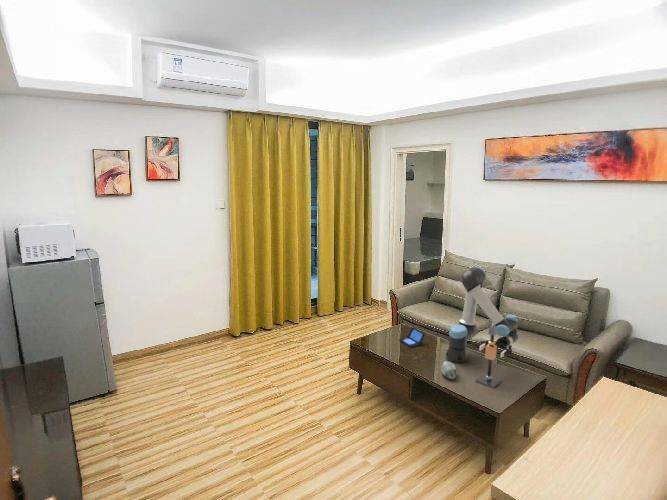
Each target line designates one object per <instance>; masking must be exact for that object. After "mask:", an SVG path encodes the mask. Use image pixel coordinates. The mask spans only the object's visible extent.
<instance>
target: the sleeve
mask: <svg viewBox="0 0 667 500" xmlns="http://www.w3.org/2000/svg"><path fill="white" fill-rule="evenodd" d="M497 350H498V347H497V346H496V345H493V347H490V345H489V344H488V345H487V346H486V347H485V353H484V358H485V359H487V360H489V359H490V360H492V361H495V360H496V359H497V354H498V353H497V352H498V351H497Z"/></svg>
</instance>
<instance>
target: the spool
mask: <svg viewBox="0 0 667 500" xmlns="http://www.w3.org/2000/svg"><path fill="white" fill-rule="evenodd" d="M440 371H441V373H442V375H443V376H444V377H446V378H447V379H449V380H454V379H456V377H457V367H456V365H455V364H454V363H453V362H451V361H449V360H446V361H444V362H442V363H441V367H440Z"/></svg>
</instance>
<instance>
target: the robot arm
mask: <svg viewBox="0 0 667 500" xmlns="http://www.w3.org/2000/svg"><path fill="white" fill-rule="evenodd" d="M486 278H487V273H486V271H485V270H484V268H482V267H480V266H473V267H471V268H468V269H466V270H464V271H463V272H462V274H461V276H460V281H461V284H462V286H463V287H464V289H465V290H466V291H465V298H464V304H463V311H462V317H461V318H460V319H459V322H458V324H454V325H452V326H451V327H449V338H448V348H447V350H446V353H445V360H446V361H448V362H451V363H453V364H454V363H455V364H464V363H466V362H468V360H469V359H468V356H469V355H468V353H467V342H468V341H469V340H471V339H472V338H474V337H475V336H476V335H477V333H478V327H477V321H476V312H477V307H478V305H479V307H480V308H481V309H482V311H483V312H484V313H485V315H486V316H487V318H489V320H490V321H491V324H492V323H494V326H497V334H496V335H498V337H499V336H500V337H499V338H497V339H496V340H494V341H495V345H496V346H497V348H498V349H500V350H502V352H500V356H499V357H500V358H501V359H502V358H503V357H504V356H507V355H509V356H512V355H513V354H512V353H513V349H512V347H513V346H512V345H513V344H514V343H516V342H517V341H518V340H519V338H520V334H519V333H518V321H519V320H518V316H517V315H516V314H510V313H509V314H506V315H505V316H504V317H505V318H504V317H503V315H502V314H501V313H500V311H498V309H497V307H496V306H495V305H494V304H493V302H492V301H491V299H490V298H489V297H488V296H487V294H486V293H485V292H484V290H483V289H482V288H483V285H484V282H485V280H486ZM489 340H490V339H489ZM489 340H483V341H482V340H481V341H480V345H479V349H478V350H479V352H481V351H482V350H484V349H486V346H487V345H488V341H489Z"/></svg>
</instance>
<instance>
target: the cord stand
mask: <svg viewBox="0 0 667 500" xmlns="http://www.w3.org/2000/svg"><path fill="white" fill-rule="evenodd" d="M488 335H489V336H490V339H489V341H488V344H489V345H490V347H493V345H495V341H496V340H495V336H496V335H498V334H497V326H495V325H494V323H492V322H491V325H489V326H488ZM492 362H493V360H490V359H488V362H487V363H488V364H487V371H486V372H485V373H484V372H483V373H481V374H480V375H479V376H478V377H476V378H475V379H474V382H476V383H478V384H481V385H483V386H486V387H489V388H492V389H495V388H496V387H497V386H498V385H499V384H501V382H503V379H501V378H498V377H495V376H493V375H492V364H493V363H492Z"/></svg>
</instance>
